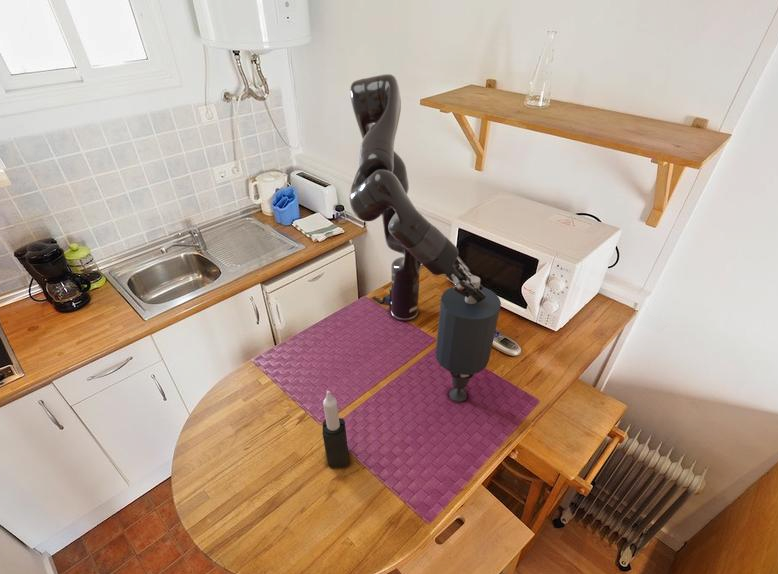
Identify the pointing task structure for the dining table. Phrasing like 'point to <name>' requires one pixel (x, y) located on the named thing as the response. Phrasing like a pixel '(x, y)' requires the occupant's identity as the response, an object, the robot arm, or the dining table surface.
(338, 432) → the candle
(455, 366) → the grey canister with knob
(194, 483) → the dining table surface
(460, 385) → the sundae
